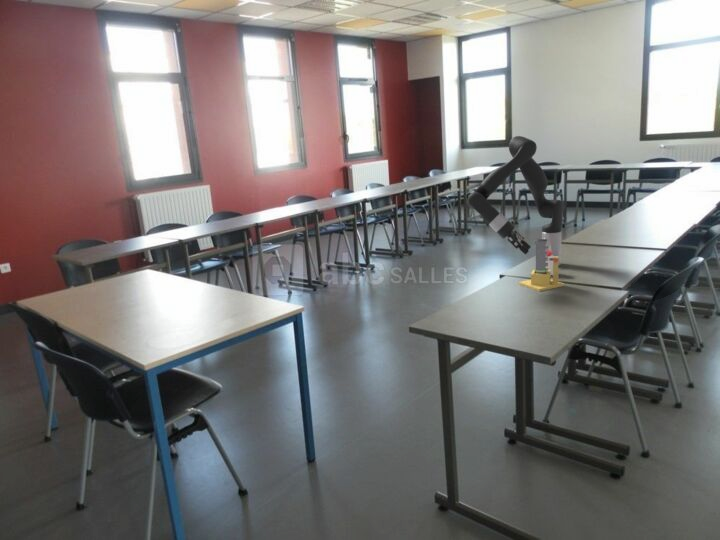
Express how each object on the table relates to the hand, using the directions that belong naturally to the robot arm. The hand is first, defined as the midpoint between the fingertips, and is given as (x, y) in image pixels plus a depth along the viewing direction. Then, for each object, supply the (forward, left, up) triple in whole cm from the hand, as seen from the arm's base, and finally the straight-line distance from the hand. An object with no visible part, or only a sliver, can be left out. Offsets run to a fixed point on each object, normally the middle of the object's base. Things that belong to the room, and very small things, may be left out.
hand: (528, 250), depth 238 cm
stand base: (+4, +4, -16) cm, 17 cm away
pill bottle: (-9, +18, -16) cm, 26 cm away
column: (+4, +4, -14) cm, 15 cm away
